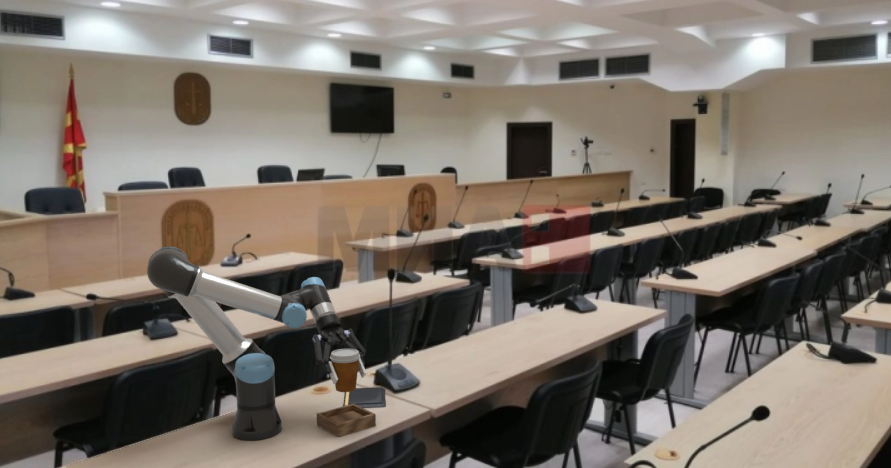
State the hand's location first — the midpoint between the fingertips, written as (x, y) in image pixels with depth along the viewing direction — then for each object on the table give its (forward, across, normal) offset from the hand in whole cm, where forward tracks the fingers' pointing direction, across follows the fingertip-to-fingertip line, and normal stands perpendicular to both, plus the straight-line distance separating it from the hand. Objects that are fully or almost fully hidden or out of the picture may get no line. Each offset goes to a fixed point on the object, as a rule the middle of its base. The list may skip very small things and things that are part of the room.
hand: (350, 378), depth 226 cm
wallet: (-3, -17, -28) cm, 33 cm away
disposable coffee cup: (+1, 0, -6) cm, 6 cm away
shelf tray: (+9, 0, -14) cm, 17 cm away
